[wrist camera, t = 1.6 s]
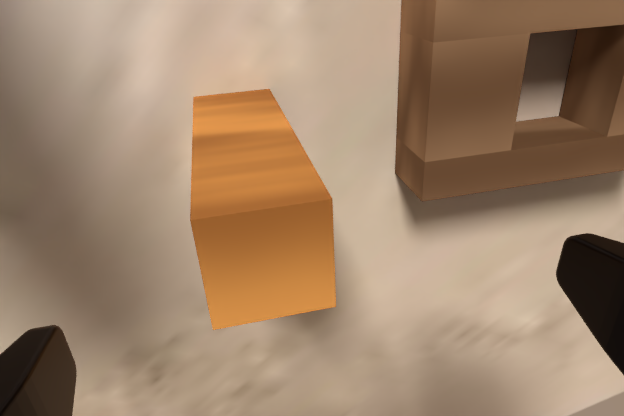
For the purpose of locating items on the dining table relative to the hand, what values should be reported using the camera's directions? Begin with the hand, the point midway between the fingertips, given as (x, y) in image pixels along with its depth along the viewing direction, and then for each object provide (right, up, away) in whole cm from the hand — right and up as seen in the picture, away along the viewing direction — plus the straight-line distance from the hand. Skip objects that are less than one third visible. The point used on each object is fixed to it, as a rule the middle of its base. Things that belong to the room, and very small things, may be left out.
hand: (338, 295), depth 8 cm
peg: (-4, +5, +11) cm, 12 cm away
